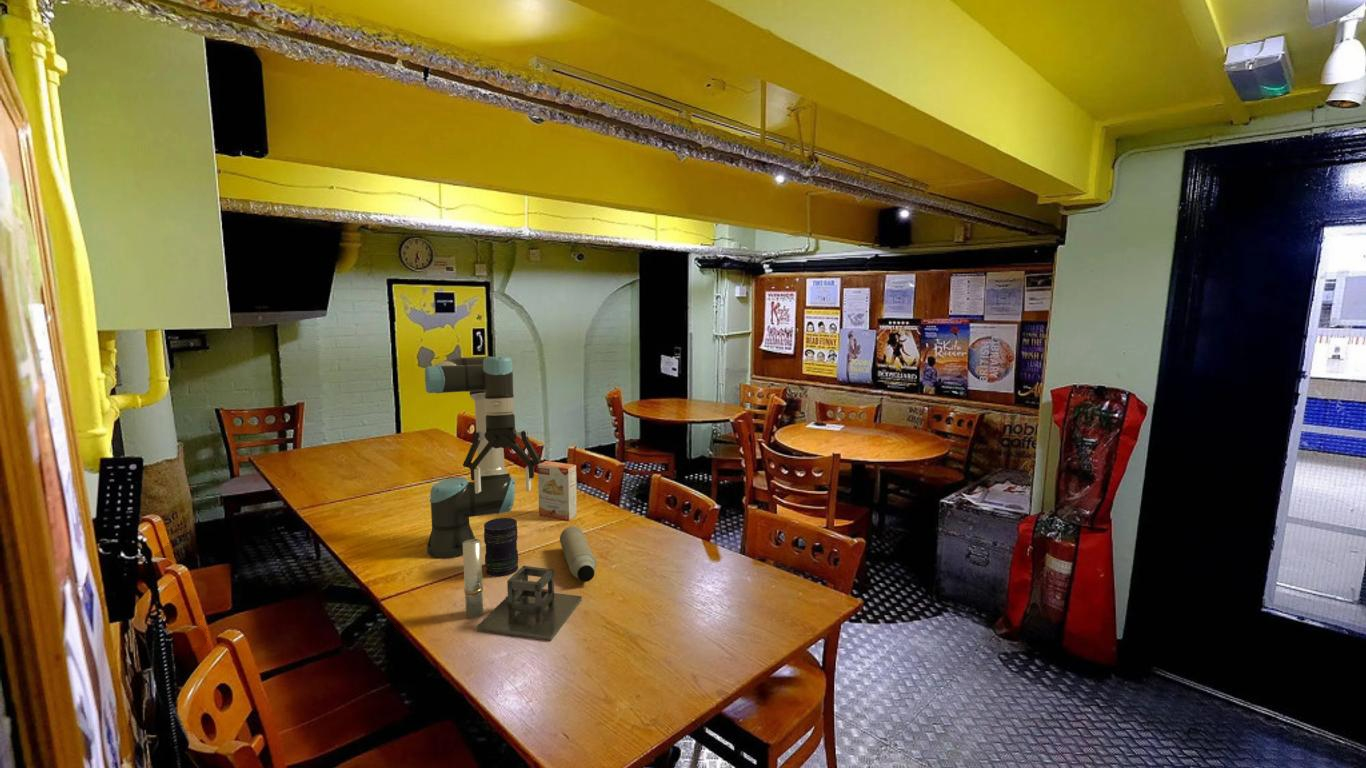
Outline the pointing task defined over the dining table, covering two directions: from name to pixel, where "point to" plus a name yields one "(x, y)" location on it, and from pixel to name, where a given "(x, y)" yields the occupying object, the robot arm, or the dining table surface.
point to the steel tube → (473, 578)
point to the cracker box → (557, 490)
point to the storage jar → (501, 547)
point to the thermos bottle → (578, 553)
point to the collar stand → (531, 607)
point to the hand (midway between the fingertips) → (503, 491)
